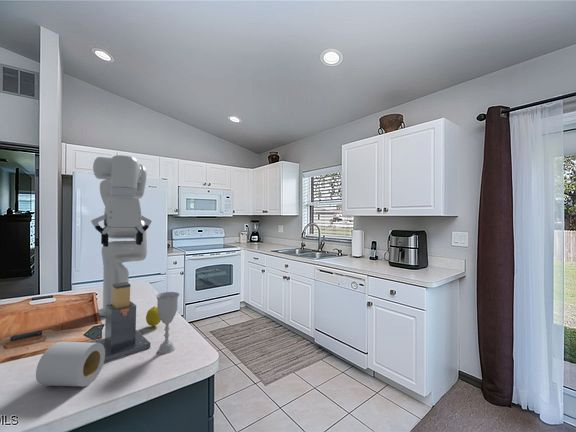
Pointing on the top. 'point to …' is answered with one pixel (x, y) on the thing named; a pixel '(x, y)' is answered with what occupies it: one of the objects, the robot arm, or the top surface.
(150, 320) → the lemon
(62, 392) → the top surface
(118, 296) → the column
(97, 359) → the toilet paper
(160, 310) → the chalice
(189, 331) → the top surface
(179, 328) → the top surface
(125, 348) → the stand
